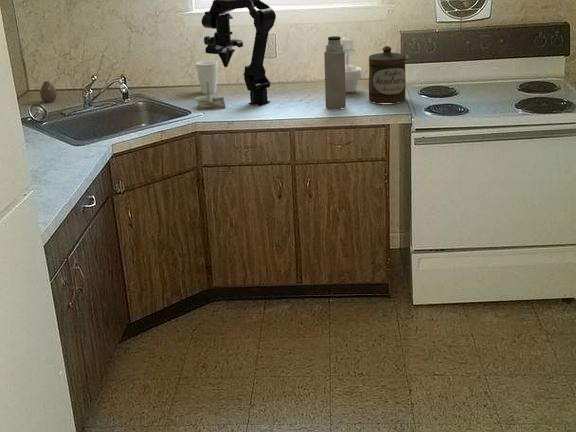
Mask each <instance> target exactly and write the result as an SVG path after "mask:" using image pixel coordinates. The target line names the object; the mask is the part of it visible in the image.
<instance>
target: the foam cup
mask: <svg viewBox="0 0 576 432" xmlns="http://www.w3.org/2000/svg"><path fill="white" fill-rule="evenodd" d="M218 64H219V63H218V61H216V60H202V61H197V62H196V63H195V69H196V72H197V76H198V82H199V86H200V90H201V93H202V94H206V95H207V88H206V80H208V82H209V94H210V95H211V94H214V93H216V92H217V83H218V82H217V80H218V67H219V65H218Z"/></svg>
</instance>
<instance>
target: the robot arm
mask: <svg viewBox="0 0 576 432" xmlns="http://www.w3.org/2000/svg"><path fill="white" fill-rule="evenodd" d="M246 8H247V9H248V12H249V15H250V17H252V19H253V25H254V28H255V37H254V42H253V48H252V54H251V61H250V64H248V65H245V66H244V71H243V72H244V73H243V74H242V75H243V79H244V82H245V86H246V90H247V91H249V97H250V98H249V99H250V102H248V104H249V105H253V106H260V107H261V106H264V105H266V104H269V103H271V100H268V89H269V88H270V86H271V81H270V80H269V79H268V77H267V76H266V69H265V66H264V60H265V55H266V50H267V44H268V39H269V33H270V31H271V30H272V28H273V27H274V25H275V22H276V19H277V15H276V13H275V12H276V11H274V9H272V8H271V7H270V6H269V4H267V3H265V2H264V1H262V0H213V1H212V4H211V6H210V9H209V10H207V11H204V15H203V16H202V18H201V24H202V27H203V28H205V29H206V28H207V29H215V32H213V36H211V37H210V36H209V35H207V36H204V37H203V43H204V45H205V49H204V50H205V54H209V55H210V54H211V55H218V56H219V58H220V60H221V62H222V65H223V67H224V68H228V66H229V64H230V61H231V59H232V56H233V54H234V52H235V51H236V49H234V48H233V47H237V48H243V47H244V42H243V41H242V39H231V38H232V37H231V35H233V31H231V26H230V24H231V22H230V20H233V19H234V17H233V16H232V15H231V14H230V13H229V12H232V11H234V10H238V9H246Z"/></svg>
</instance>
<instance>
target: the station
mask: <svg viewBox="0 0 576 432" xmlns="http://www.w3.org/2000/svg"><path fill="white" fill-rule="evenodd" d="M224 98H225V97H224V96H220V97H217V96H216V97H210V99H212V102H204V103H198V102H197V109H198V111H204V110H205V111H206V110H217V109H218V110H219V109H221V110H222V109H226V105H225V104H226V103H225V99H224Z"/></svg>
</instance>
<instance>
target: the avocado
mask: <svg viewBox="0 0 576 432" xmlns="http://www.w3.org/2000/svg"><path fill="white" fill-rule="evenodd" d="M57 94H58V93H57V90H56V88H55V87H54V85H53V84H51V82H50V81H49V80H47V81H43V83H42V85H41V87H40V89H39V95H40V99H41V100H42V101H43V102H44V103H45V104H46V103H48V104H49V103H54V102H55V101H56V100H57V97H58V96H57Z"/></svg>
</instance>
